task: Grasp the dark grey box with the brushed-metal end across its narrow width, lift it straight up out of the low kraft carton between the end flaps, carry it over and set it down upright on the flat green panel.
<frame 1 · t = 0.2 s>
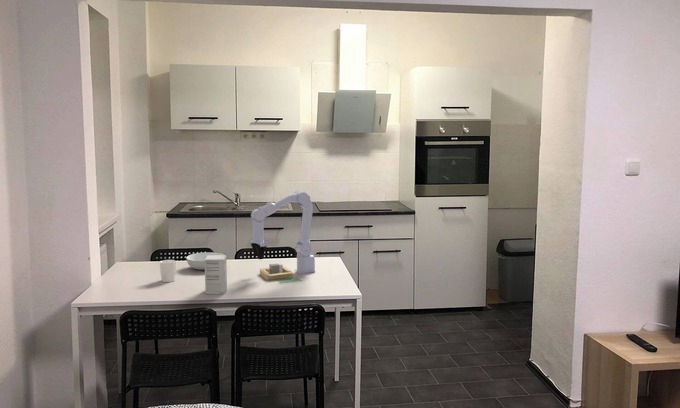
hand: (258, 257, 296), 10 cm above the table, fingers open, 7 cm apart
carton: (276, 276, 297), on the table
serving bowl: (205, 268, 315), on the table
flat green panel: (288, 280, 288), on the table
supplement box: (216, 291, 269), on the table
grey box: (276, 275, 297), resting on carton
white cup: (168, 280, 288), on the table
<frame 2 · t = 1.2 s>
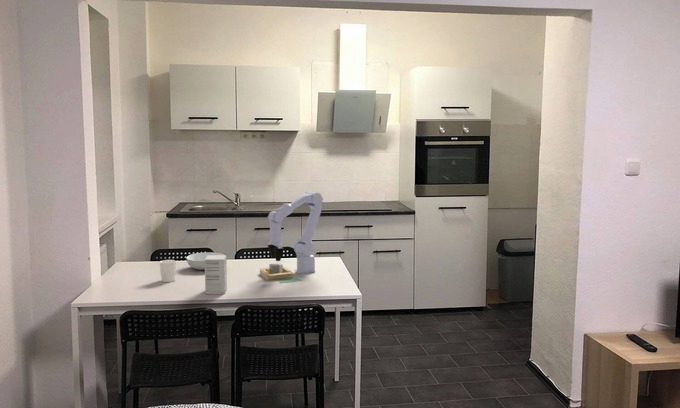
hand: (275, 259, 296), 9 cm above the table, fingers open, 7 cm apart
nothing on the table moved.
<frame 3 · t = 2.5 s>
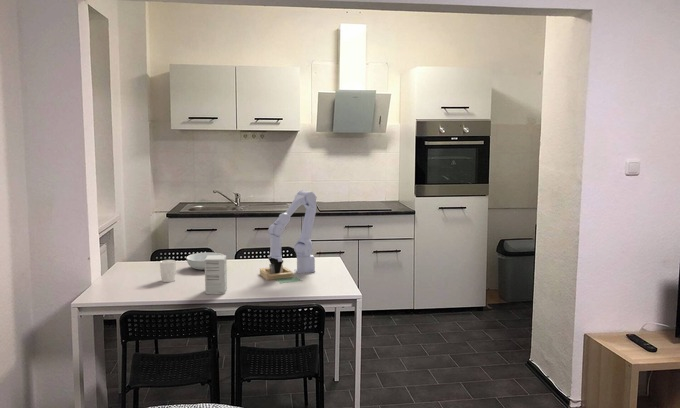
hand: (276, 272, 297), 2 cm above the table, fingers closed on grey box, 4 cm apart
grey box: (276, 275, 297), resting on carton, touching gripper
everything else where it was.
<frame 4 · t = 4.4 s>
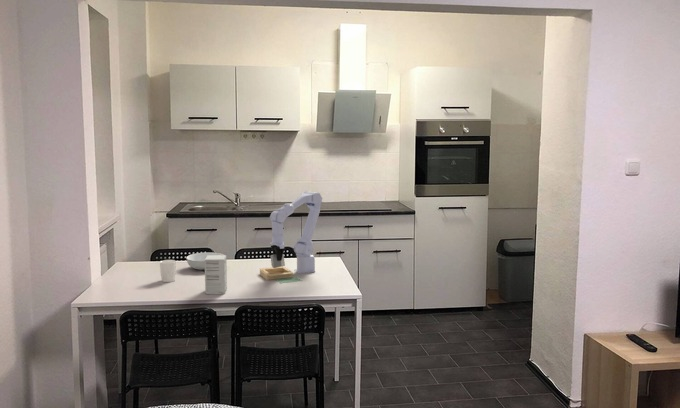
hand: (278, 259, 294), 9 cm above the table, fingers closed on grey box, 4 cm apart
grey box: (278, 266, 295), point 6 cm above the table, tilted 6°, touching gripper
everything else where it was.
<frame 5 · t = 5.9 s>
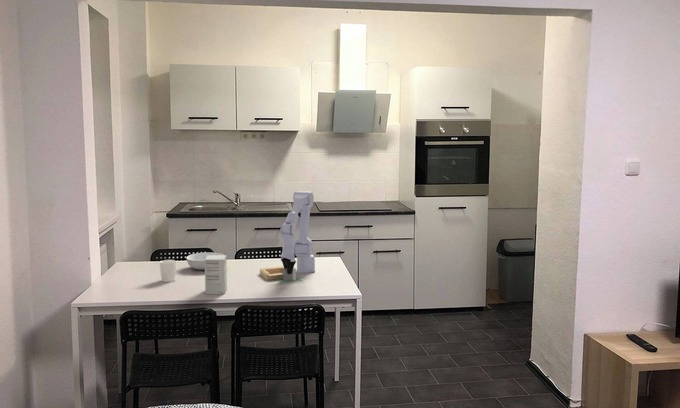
hand: (288, 272, 288), 4 cm above the table, fingers closed on grey box, 4 cm apart
grey box: (289, 279, 288), resting on flat green panel, touching gripper
everything else where it was.
when the fingers open (4 cm above the table, at t = 6.4 s): grey box stays where it is, resting on flat green panel.
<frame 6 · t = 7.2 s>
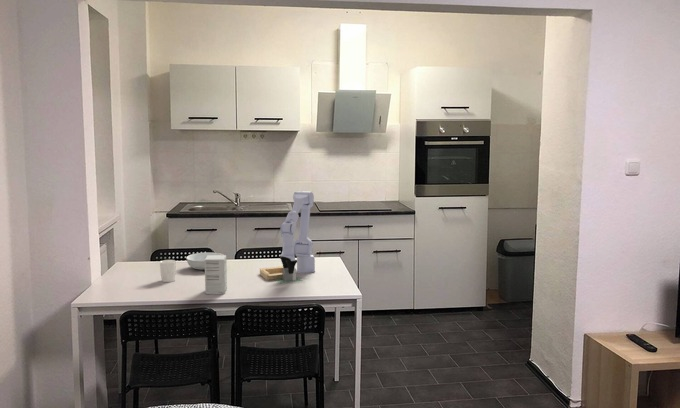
hand: (288, 271, 288), 5 cm above the table, fingers open, 7 cm apart
grey box: (289, 279, 288), resting on flat green panel
everything else where it was.
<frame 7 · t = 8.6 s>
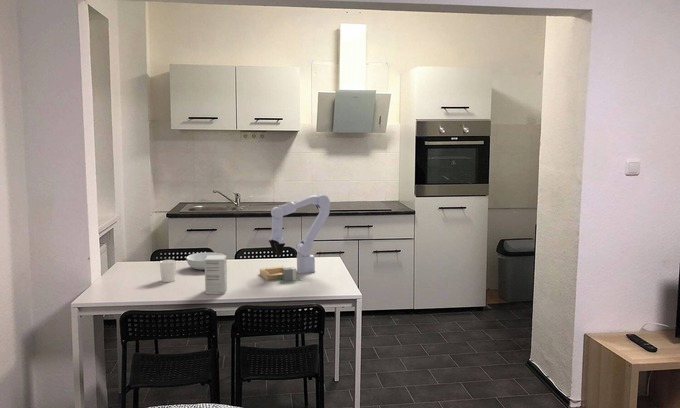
hand: (276, 254, 302), 10 cm above the table, fingers open, 7 cm apart
nothing on the table moved.
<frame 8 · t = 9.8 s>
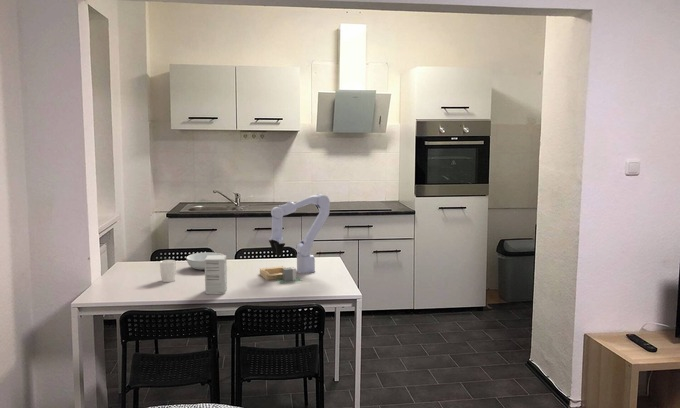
hand: (276, 254, 302), 10 cm above the table, fingers open, 7 cm apart
nothing on the table moved.
at the end: grey box inside the target area on the flat green panel (0.4 cm from its centre), point 0.4 cm above the flat green panel's base; grey box tilted 0°; the gripper is holding nothing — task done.
